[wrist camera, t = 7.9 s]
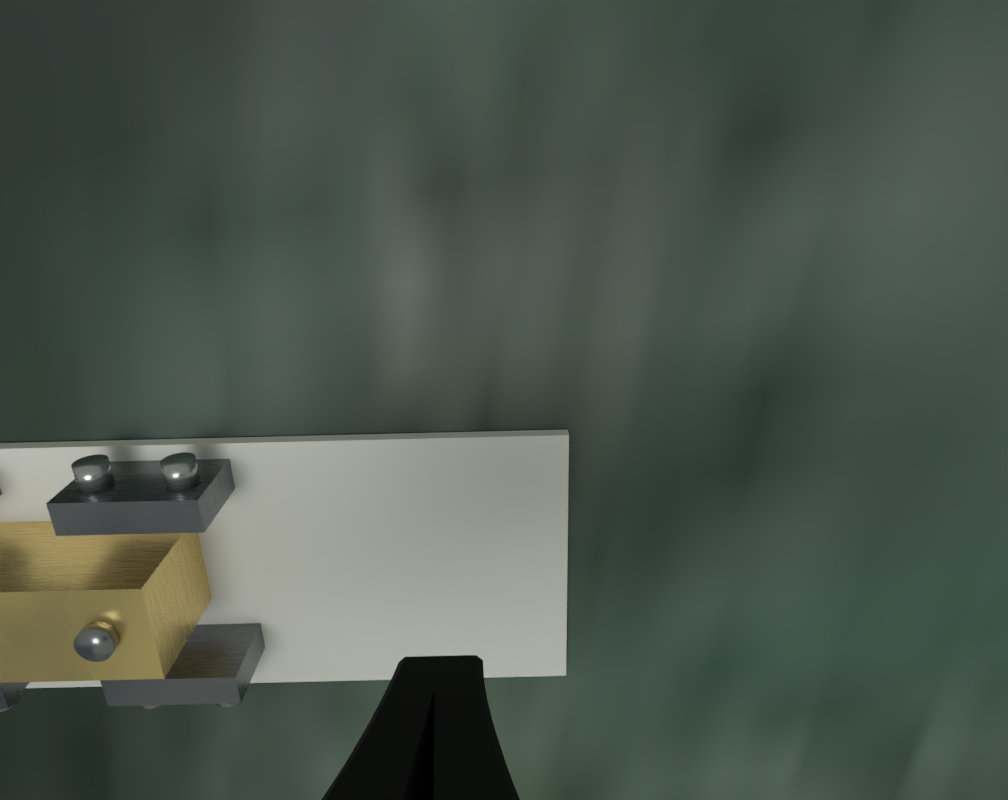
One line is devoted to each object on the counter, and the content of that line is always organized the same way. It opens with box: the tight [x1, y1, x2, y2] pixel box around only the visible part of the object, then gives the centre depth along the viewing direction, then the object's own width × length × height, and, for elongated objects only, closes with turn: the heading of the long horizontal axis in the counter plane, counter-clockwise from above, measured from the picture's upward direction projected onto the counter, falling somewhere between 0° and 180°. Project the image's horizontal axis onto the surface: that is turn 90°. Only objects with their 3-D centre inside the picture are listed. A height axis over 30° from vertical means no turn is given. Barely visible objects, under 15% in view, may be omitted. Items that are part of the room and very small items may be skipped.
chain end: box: [46, 452, 265, 709], centre depth 21 cm, size 8×4×2 cm, turn 1°
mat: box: [0, 429, 569, 688], centre depth 23 cm, size 9×23×1 cm, turn 91°
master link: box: [0, 521, 212, 683], centre depth 20 cm, size 3×8×4 cm, turn 91°
